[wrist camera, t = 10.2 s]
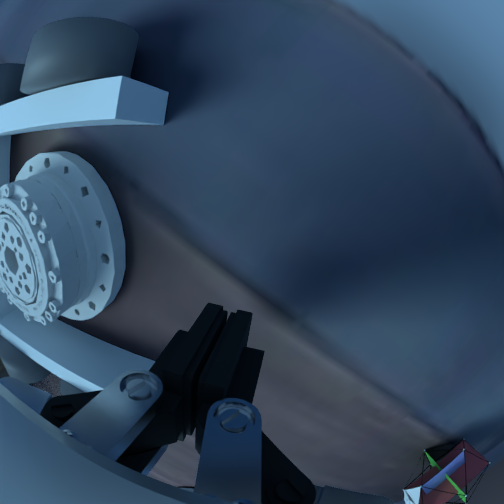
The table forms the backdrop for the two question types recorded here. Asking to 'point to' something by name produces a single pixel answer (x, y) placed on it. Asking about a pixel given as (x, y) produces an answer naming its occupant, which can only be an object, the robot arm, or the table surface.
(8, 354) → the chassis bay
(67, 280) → the mechanical component
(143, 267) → the table surface
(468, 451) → the geometric puzzle
